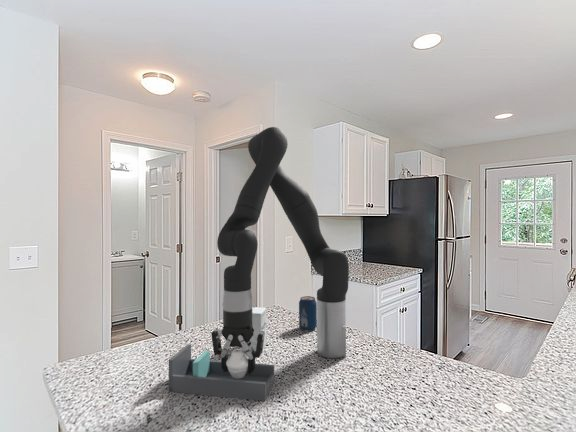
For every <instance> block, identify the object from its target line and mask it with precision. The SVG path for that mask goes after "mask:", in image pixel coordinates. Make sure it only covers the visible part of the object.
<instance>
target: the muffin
mask: <svg viewBox="0 0 576 432" xmlns="http://www.w3.org/2000/svg"><path fill="white" fill-rule="evenodd" d="M248 359H249V358H248V355H247V353H246V352H245V351H244V350H243V349H240V348H235V349H233V350H232V351H231V354H230V355H229V358H228V359H227V362H226V365H227V367H228V370H229V372H230V374H231V376H232V377H233V378H236V379H240V378H243V377H244V376H245V374H246V372H247V370H248Z"/></svg>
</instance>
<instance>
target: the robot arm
mask: <svg viewBox="0 0 576 432" xmlns="http://www.w3.org/2000/svg"><path fill="white" fill-rule="evenodd" d="M247 144H248V145H247V149H248V153H249V155H250V158H251V159H252V161H253V163H254V164H255V166H254V168H253V170H252V171H251V174H249V177H248V178H247V180H246V181H245V183H244V185H243V186H242V188H241V190H240V191H239V195H238V197H237V201H236V203H235V207H234V209H233V212H232V213H231V215H230V216H229V217H228V218H227V221H226V222H225V223H224V225H223V226H222V228H221V230H220V231H219V234H218V236H217V243H216V244H217V250H218V251H219V253H220V254H222V256H227V257H236V260H235V263H234V265H229V266H227V267H226V268H224V269H223V270H224V271H223V296H222V326H223V327H222V329H219V328H216V329H214V330H213V331H212V332H211V335H210V336H211V341H212V348H213V354H214V355H216V356H217V355H218V356H220V359H221V360H220V361H221V368H222V369H223V371H224V372H227V371H228V367H227V365H226V362H227V359H228V358H229V357H230V354H229V352H230V349H231V347H232V348H235V347H238V348H240V347H243V349H244V351H245V354H246V356H248V358H249V359H248V374H251V373H252V372H253V371H254V369H255V364H256V358H260V357H261V355H262V353H263V352H264V351H263V349H264V348H263V343H264V335H265V333H264V331H261V332H256V331H254V329H253V326H252V307H253V294H252V292H253V291H252V271H253V267H254V263H255V259H256V255H257V252H258V251H257V250H258V239H257V236H256V234H255V233H254V232H253V231H252V230H250V229H247V228H249V227H252V226H255V225H256V224H257V223H258V221H259V219H260V215H261V214H262V213H261V212H262V210H263V207H264V206H263V205H264V203H265V199H266V196H267V193H268V191H269V189H271V190H272V192H273V193H274V195H275V197H276V198H277V200H278V202H279V203H280V206H281V208H282V210H283V211H284V213H285V215H286V217H287V219H288V220H289V221H288V222H290V224H291V226H292V227H293V229H294V231H295V233H296V234H297V236H298V237H299V239H300V241H301V242H302V244H303V247H304V248H305V251H306V253H307V256H308V258H309V261H310V263H311V265H312V268H313V270H314V271H315V272H316V273H317V275H319V276H322V286H321V287H320V288H319V289H318V290H316V302H317V326H316V349H317V350H316V351H317V352H316V353H317V354H318V355H319V356H321V357H323V358H328V359H338V358H346V357H347V322H346V321H347V319H346V318H347V315H346V312H347V311H346V309H347V308H346V303H347V302H346V296H347V292H348V290H349V279H350V278H349V277H350V275H349V274H350V266H349V260H348V257H347V255H346V254H345V253H344V252H343V251H341V250H338V249H332V248H331V247H330V246H329V245H328V243H327V242H326V239H325V238H324V236H323V234H322V232H321V229H320V219H319V214H318V211H317V208H316V205H315V204H314V202H313V200H312V198H311V196H310V194H309V193H308V192H307V190H306V189H305V188H304V187H303V186H302V185H300V184H299V183H298V182H297V181H295V180H294V179H293V178H291V177H290V176H289V175H288V174H287V173H286V172H285V171H284V169H283V168H282V166H281V162H282V160H283V158H284V156H285V154H286V152H287V148H288V138H287V136H286V133H285V132H284V131H283V130H282V129H280V128H278V127H276V126H275V127H274V126H270V127H267V128H265V129H263V130H261V131H260V132H258V133H257V134H255V135H253V137H251V139H250V140H249V141H248V143H247ZM252 336H254V337H255V340H256V341H257V346H256V351H255V350H254V348H253V344H252V342H251V340H250V339H251V338H252ZM221 337H223V338H224V339H225V343H224V345H223V347H222V342H221Z"/></svg>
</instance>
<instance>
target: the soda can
mask: <svg viewBox="0 0 576 432" xmlns="http://www.w3.org/2000/svg"><path fill="white" fill-rule="evenodd" d="M298 325H299V328H300V330H302V331H304V332H312V331H315V330H316V329H317V299H316V298H315V297H314V296H306V295H304V296H301V297H300V299H299V302H298Z"/></svg>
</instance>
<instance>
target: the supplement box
mask: <svg viewBox="0 0 576 432" xmlns="http://www.w3.org/2000/svg"><path fill="white" fill-rule="evenodd" d="M252 326H253V329H254V331H256V332H261V331H264V333H265V335H264V343H263V349H264V348H265V346H266V345H267V307H256V306H255V307H253V306H252ZM250 340H251V342H252V344H253V348H254V350H255V351H256V346H257V341H256V340H255V337H254V336H252V338H251V339H250ZM239 349H243V347H239ZM243 350H244V349H243Z"/></svg>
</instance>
